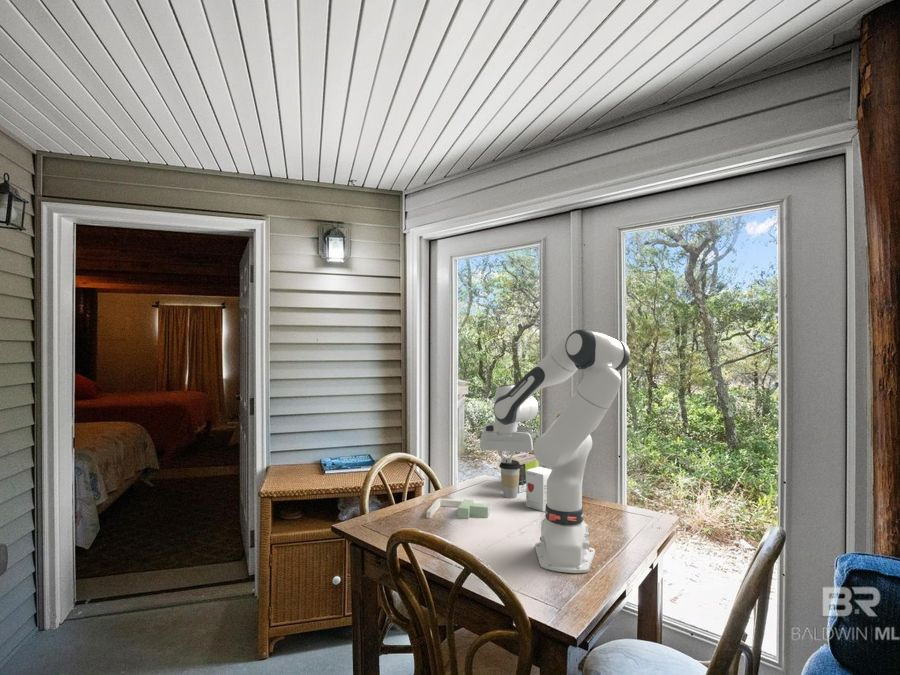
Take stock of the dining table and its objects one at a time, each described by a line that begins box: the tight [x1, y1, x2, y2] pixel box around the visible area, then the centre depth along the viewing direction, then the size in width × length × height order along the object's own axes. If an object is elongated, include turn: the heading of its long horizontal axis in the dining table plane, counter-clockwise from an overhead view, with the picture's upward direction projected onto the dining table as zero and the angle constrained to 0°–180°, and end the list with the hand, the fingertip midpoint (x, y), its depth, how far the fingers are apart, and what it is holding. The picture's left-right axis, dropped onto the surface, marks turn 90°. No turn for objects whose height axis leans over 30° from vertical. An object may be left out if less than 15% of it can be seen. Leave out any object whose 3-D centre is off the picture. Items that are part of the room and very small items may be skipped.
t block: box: [457, 499, 490, 520], centre depth 182 cm, size 10×11×4 cm
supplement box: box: [525, 466, 552, 513], centre depth 191 cm, size 9×9×15 cm
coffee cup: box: [498, 460, 521, 499], centre depth 204 cm, size 9×9×15 cm
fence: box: [426, 498, 464, 519], centre depth 185 cm, size 16×12×2 cm
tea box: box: [505, 452, 540, 494], centre depth 217 cm, size 15×10×15 cm
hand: (506, 462), depth 179 cm, fingers closed
